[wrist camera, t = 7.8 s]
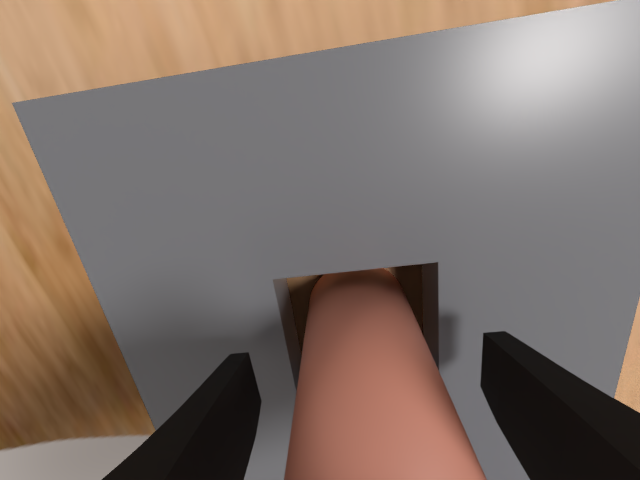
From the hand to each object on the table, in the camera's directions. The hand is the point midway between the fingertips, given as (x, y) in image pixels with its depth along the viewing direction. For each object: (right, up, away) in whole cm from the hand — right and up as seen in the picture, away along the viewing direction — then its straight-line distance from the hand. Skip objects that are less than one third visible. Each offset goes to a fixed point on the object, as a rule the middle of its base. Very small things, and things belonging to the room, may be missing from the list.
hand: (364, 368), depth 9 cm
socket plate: (0, +1, +3) cm, 3 cm away
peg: (0, +1, +3) cm, 3 cm away
